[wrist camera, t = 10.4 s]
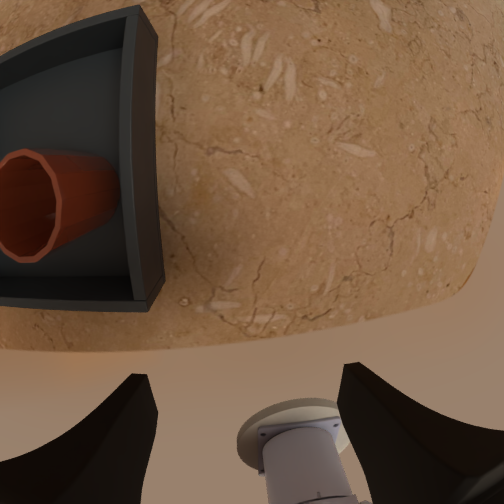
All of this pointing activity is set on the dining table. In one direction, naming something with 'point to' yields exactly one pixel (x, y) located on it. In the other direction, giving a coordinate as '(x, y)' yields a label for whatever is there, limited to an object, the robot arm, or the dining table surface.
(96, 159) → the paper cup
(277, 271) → the dining table surface
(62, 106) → the bin
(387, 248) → the dining table surface
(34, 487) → the robot arm
